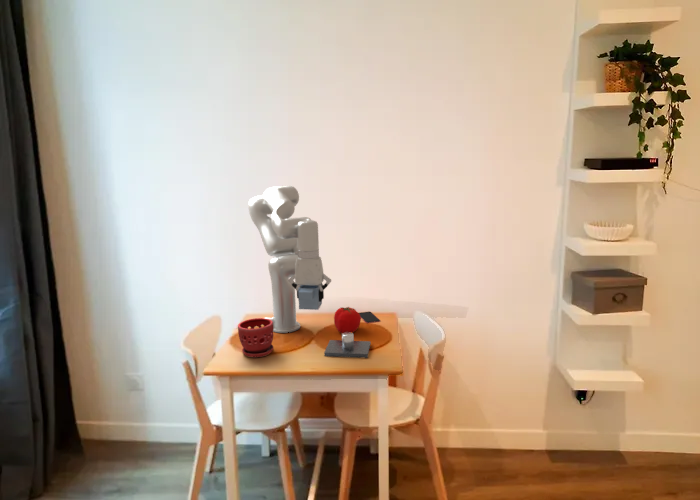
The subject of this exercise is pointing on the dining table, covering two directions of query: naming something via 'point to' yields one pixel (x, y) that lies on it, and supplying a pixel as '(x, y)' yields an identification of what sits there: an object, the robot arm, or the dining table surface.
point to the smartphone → (368, 317)
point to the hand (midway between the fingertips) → (310, 299)
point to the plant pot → (256, 337)
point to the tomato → (347, 319)
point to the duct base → (352, 352)
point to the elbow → (309, 297)
